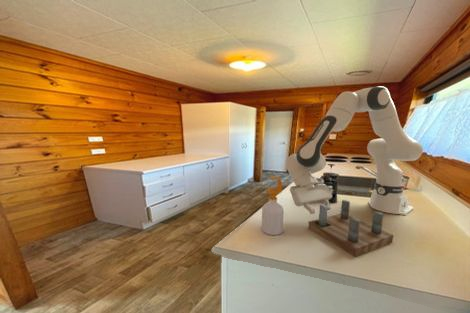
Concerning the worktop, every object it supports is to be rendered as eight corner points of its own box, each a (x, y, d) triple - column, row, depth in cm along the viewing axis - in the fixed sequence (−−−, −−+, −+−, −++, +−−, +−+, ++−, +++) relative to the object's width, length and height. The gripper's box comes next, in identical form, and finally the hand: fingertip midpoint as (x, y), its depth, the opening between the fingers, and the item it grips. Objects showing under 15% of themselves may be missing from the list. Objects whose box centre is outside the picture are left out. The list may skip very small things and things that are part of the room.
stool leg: (321, 227, 88) (323, 204, 87) (327, 231, 86) (329, 207, 84) (316, 229, 87) (318, 205, 86) (322, 232, 84) (324, 208, 83)
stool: (342, 218, 97) (343, 197, 96) (392, 242, 77) (395, 215, 76) (308, 227, 88) (309, 204, 87) (355, 256, 68) (358, 227, 67)
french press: (330, 204, 116) (333, 166, 113) (316, 199, 124) (319, 163, 121) (342, 201, 122) (345, 164, 119) (328, 196, 130) (330, 162, 127)
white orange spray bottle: (259, 225, 90) (260, 173, 87) (279, 224, 91) (280, 173, 88) (264, 236, 81) (265, 178, 78) (285, 235, 82) (288, 177, 79)
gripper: (291, 183, 87) (307, 212, 80) (325, 178, 95) (341, 205, 88) (284, 190, 92) (298, 218, 84) (317, 185, 100) (332, 210, 93)
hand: (320, 211), depth 86 cm, fingers open, 8 cm apart
